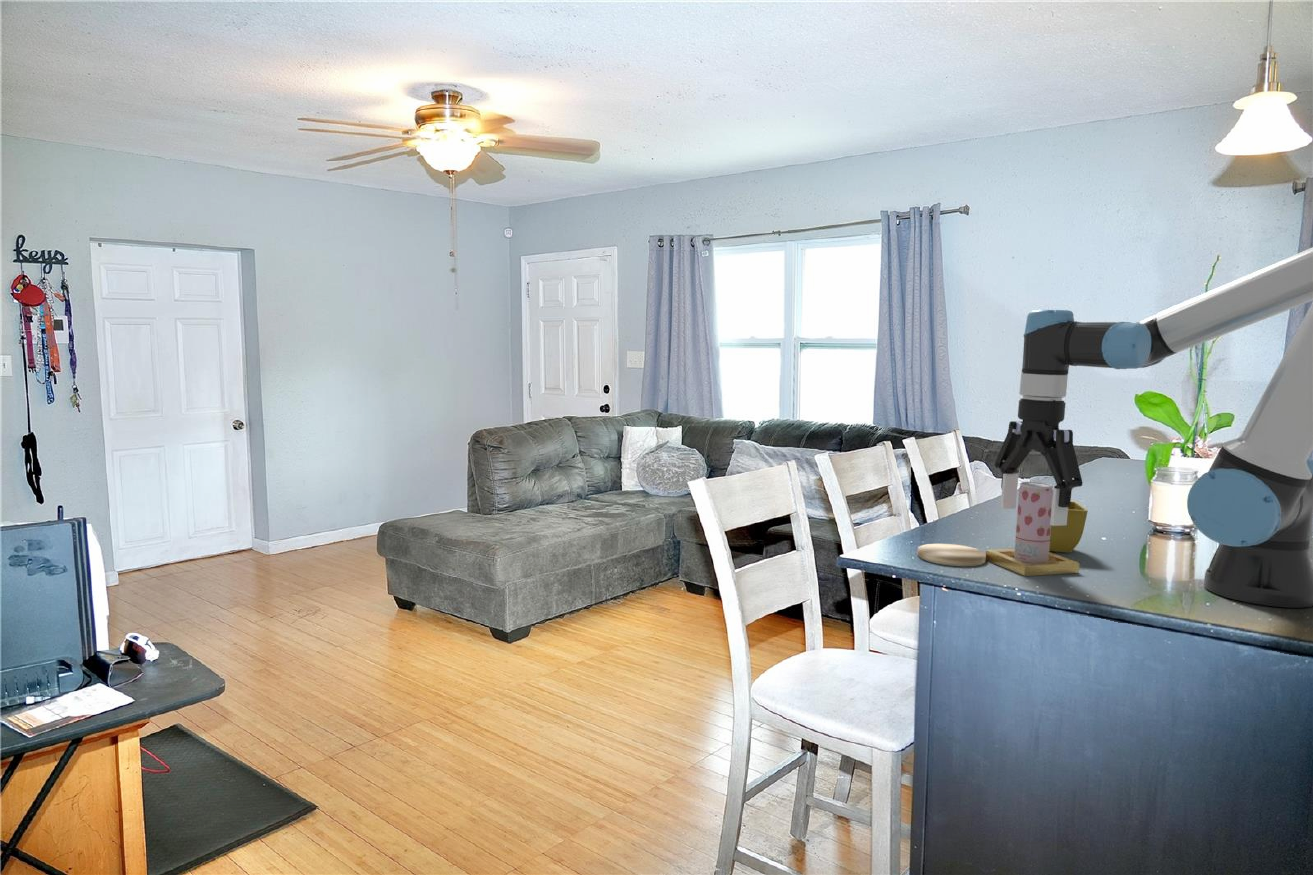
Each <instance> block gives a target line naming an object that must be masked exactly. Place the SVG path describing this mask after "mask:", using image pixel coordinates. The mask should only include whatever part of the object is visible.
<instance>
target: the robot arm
mask: <svg viewBox="0 0 1313 875" xmlns="http://www.w3.org/2000/svg"><path fill="white" fill-rule="evenodd" d="M1308 303H1311V304H1310V306H1309V307H1308V310H1307V312H1306V313H1305V315H1304V317H1303V319H1302V320H1301V323H1300V325H1299V327H1298V329H1297V330H1296V332H1295V334H1294V336H1293V338H1292V340H1291V342H1290V343H1289V345H1288V347H1287V348H1286V351H1285V353H1284V355H1283V356H1282V358H1281V360H1280V362H1279V364H1278V366H1277V367H1276V369H1275V372H1274V373H1273V375H1272V377H1271V379H1270V381H1269V383H1268V385H1267V386H1266V388H1265V390H1264V392H1263V394H1262V396H1261V398H1260V399H1259V402H1257V405H1256V407H1255V408H1254V411H1253V413H1252V414H1251V416H1250V418H1249V419H1248V422H1247V424H1246V426H1245V427H1244V429H1243V431H1242V433H1241V435H1240V436H1239V437H1237V438H1234V439H1231V440H1228V441H1225V442H1223V444H1222V445H1221V448H1220V449H1219V451H1218V453H1217V455H1216V457H1215V458H1214V460H1213V462H1212V463H1211V465H1210V468H1209V470H1208V471H1207V472H1205V473H1203V474H1202V475H1201V476H1200V477H1198V478H1197V480H1196V481H1195V482H1194V483H1193V484H1192V485H1191V487H1190V490H1189V491H1188V494H1187V499H1186V505H1187V506H1186V508H1187V512H1188V515H1189V517H1190V520H1191V522H1192V524H1193V525H1194V526H1195V527H1196V529H1197V530H1198V531H1199V532H1200V533H1201V534H1202V535H1204V537H1206V538H1207V539H1209V540H1212V541H1213V542H1215V543H1218V546H1217V549H1216V550H1215V553H1214V554H1213V556H1212V558H1211V561H1210V563H1209V566H1208V568H1207V569H1206V570H1205V573H1204V579H1203V587H1204V588H1205V589H1206V590H1208V591H1209V592H1211V593H1214V594H1216V595H1218V596H1221V597H1225V598H1228V599H1230V600H1231V599H1232V600H1235V601H1240V602H1243V603H1244V602H1245V603H1249V604H1255V605H1262V606H1269V607H1276V608H1277V607H1279V608H1291V609H1292V608H1293V609H1294V608H1299V609H1301V608H1309V607H1313V566H1312V561H1311V558H1310V555H1309V554H1310V543H1311V542H1310V541H1311V532H1312V525H1313V524H1312V523H1313V459H1312V458H1310V455H1311V453H1312V452H1313V246H1312V247H1310V248H1307V249H1306V250H1303V251H1301V252H1298V253H1295V254H1293V255H1291V256H1289V257H1286V258H1284V259H1282V260H1280V261H1277V262H1275V263H1273V264H1270V265H1267V266H1265V267H1264V268H1260V269H1258V270H1256V271H1254V272H1252V273H1249V274H1247V275H1244V276H1242V277H1239V278H1238V279H1235V280H1233V281H1231V282H1228V283H1224V285H1221V286H1218V287H1217V288H1214V289H1211V290H1209V291H1206V292H1205V293H1202V294H1200V295H1198V296H1196V297H1195V296H1194V297H1192V298H1189V299H1188V300H1185V301H1183V302H1181V303H1179V304H1176V305H1173V306H1171V307H1170V308H1168V309H1165V310H1162V311H1160V312H1158V313H1156V314H1154V315H1151V316H1149V317H1147V318H1143V319H1141V320H1139V321H1137V322H1130V321H1117V322H1115V321H1110V322H1109V321H1108V322H1107V321H1101V322H1100V321H1099V322H1098V321H1097V322H1096V321H1094V322H1093V321H1092V322H1091V321H1090V322H1089V321H1087V322H1084V321H1083V322H1081V321H1075V318H1074V316H1075V315H1074V313H1073V311H1072V310H1069V309H1068V310H1067V309H1033V310H1031V311H1030V312H1028V314H1027V316H1026V321H1025V322H1026V323H1025V329H1024V334H1023V351H1022V352H1023V353H1022V365H1021V373H1020V382H1019V391H1018V393H1019V395H1020V396H1022V398H1020V399H1019V400H1018V409H1017V417H1018V419H1019V420H1020V421H1014V420H1013V421H1009V423H1008V429H1007V430H1008V431H1007V434H1006V436H1005V438H1004V441H1003V443H1002V445H1001V447H1000V450H999V451H998V452H999V453H998V455H997V456H996V459H995V460H994V461H995V462H994V467H995V469H997V468H998V469H999V471H1000V472H1001V483H1000V484H1001V485H1000V487H1001V498H1000V507H999V508H1000V509H1002V510H1009V509H1012V510H1013V509H1017V508H1016V506H1017V497H1018V496H1017V494H1018V484H1019V471H1018V468H1019V467H1020V466H1021V465H1022V463H1023V461H1024V460H1025V459H1026V458H1027V457H1028V455H1029V454H1030V452H1031V451H1032V450H1033V451H1035V452H1038V453H1040V455H1042V456H1044V458H1045V461H1046V463H1047V466H1048V467H1049V470H1050V472H1051V474H1052V478H1053V479H1054V481H1055V484H1056V485H1055V486H1054V487H1053V498H1052V509H1051V520H1050V525H1052V526H1062V525H1067V516H1068V507H1070V501H1072V491H1073V489H1074V488H1077V487H1079V488H1080V487H1082V486H1083V483H1084V482H1083V479H1082V474H1081V471H1080V467H1079V463H1078V458H1077V454H1076V450H1075V446H1074V439H1073V438H1074V431H1073V430H1072V429H1060V426H1059V424H1060V423H1061V422H1063V421H1064V420H1065V414H1066V413H1065V412H1066V405H1067V404H1066V402H1065V400H1063V399H1064V398H1066V397H1067V388H1068V378H1069V377H1068V375H1069V371H1070V370H1069V369H1070V366H1073V367H1091V368H1101V369H1102V368H1105V369H1106V368H1107V369H1113V370H1127V369H1130V370H1131V369H1140V368H1141V369H1143V368H1149V367H1151V366H1154V365H1158V364H1160V363H1161V362H1162V361H1164V360H1165V359H1166V358H1167V357H1171V356H1172V355H1175V354H1178V353H1179V352H1183V351H1185V350H1189V349H1190V348H1193V347H1195V346H1196V347H1197V346H1198V345H1201V344H1204V343H1206V342H1209V341H1211V340H1214V339H1216V338H1219V337H1221V336H1224V335H1227V334H1229V333H1233V332H1235V331H1237V330H1240V329H1242V328H1245V327H1248V326H1251V325H1253V324H1255V323H1258V322H1261V321H1264V320H1266V319H1268V318H1271V317H1274V316H1277V315H1279V314H1282V313H1284V312H1288V311H1289V310H1292V309H1294V308H1297V307H1299V306H1303V305H1305V304H1308Z"/></svg>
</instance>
